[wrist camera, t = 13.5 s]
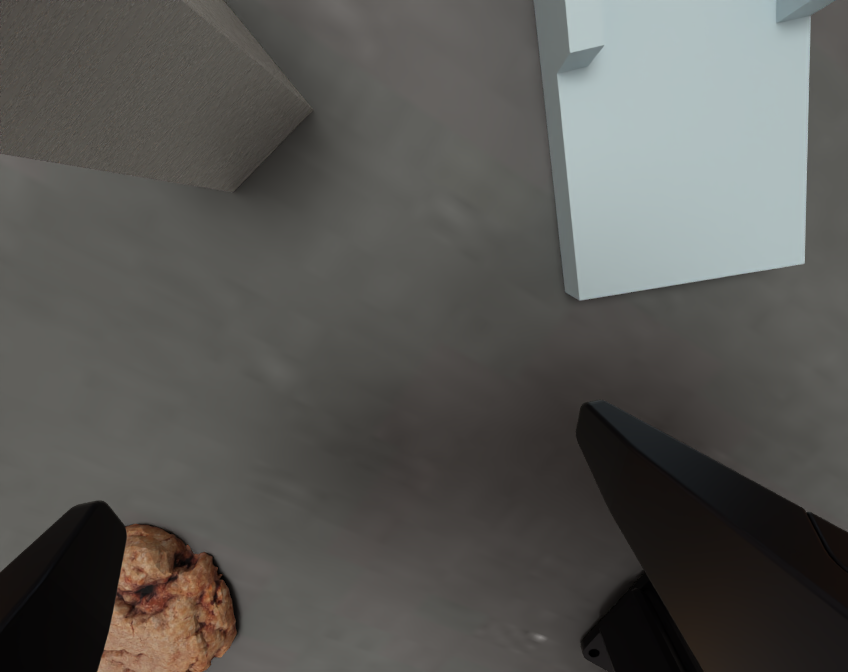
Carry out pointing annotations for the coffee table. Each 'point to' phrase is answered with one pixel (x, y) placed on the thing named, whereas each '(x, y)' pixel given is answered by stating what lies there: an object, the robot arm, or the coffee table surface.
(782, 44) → the blue stand
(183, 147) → the white rectangular block
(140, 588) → the cookie
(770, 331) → the coffee table surface
